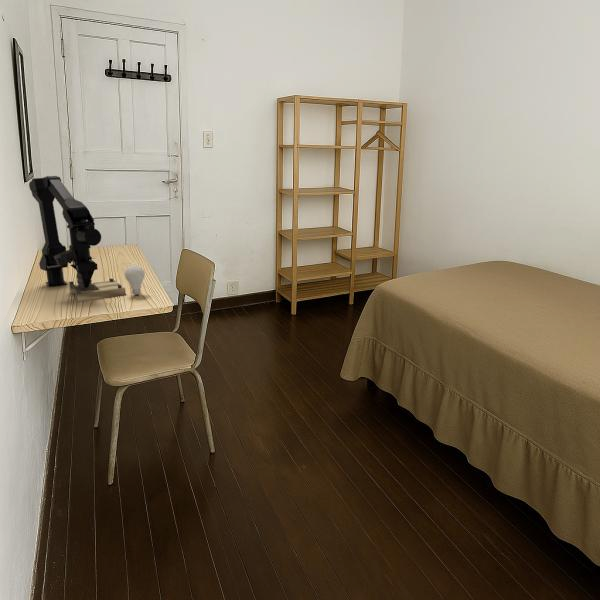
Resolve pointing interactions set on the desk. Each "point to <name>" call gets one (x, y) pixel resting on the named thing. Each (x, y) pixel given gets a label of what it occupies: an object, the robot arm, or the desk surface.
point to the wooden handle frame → (98, 290)
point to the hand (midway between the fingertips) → (84, 286)
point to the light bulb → (135, 278)
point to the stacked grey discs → (80, 283)
